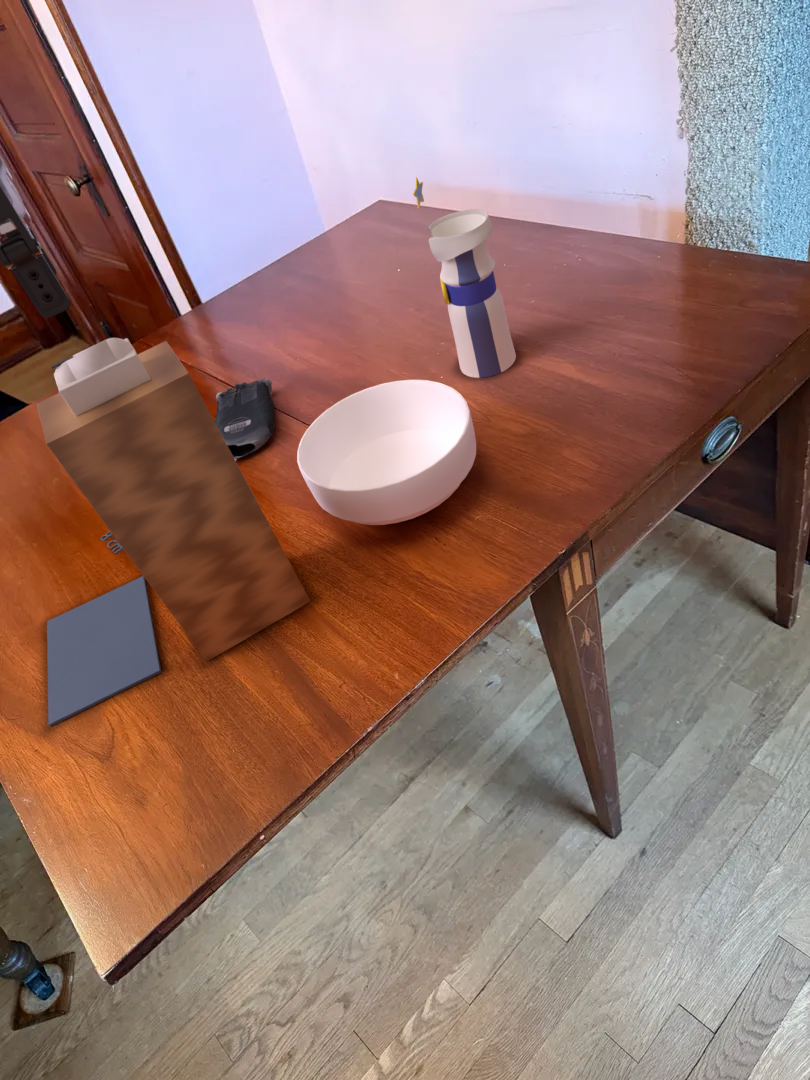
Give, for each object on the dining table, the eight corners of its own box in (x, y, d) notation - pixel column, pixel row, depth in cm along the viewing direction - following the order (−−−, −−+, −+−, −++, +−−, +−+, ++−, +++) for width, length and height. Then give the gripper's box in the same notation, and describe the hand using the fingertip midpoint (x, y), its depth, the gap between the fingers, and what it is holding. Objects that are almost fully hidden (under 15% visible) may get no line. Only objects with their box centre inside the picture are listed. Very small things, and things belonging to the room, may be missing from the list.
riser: (206, 661, 75) (46, 444, 57) (187, 615, 81) (35, 403, 63) (310, 601, 78) (188, 373, 59) (284, 560, 83) (165, 340, 65)
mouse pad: (161, 672, 76) (159, 670, 76) (50, 726, 75) (48, 724, 74) (145, 577, 88) (143, 575, 88) (48, 623, 87) (46, 621, 86)
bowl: (516, 495, 81) (503, 433, 75) (354, 577, 78) (327, 519, 73) (441, 416, 95) (424, 359, 90) (302, 483, 93) (276, 429, 87)
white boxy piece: (75, 417, 59) (48, 378, 56) (69, 398, 62) (43, 360, 59) (152, 379, 60) (129, 339, 58) (142, 362, 63) (119, 323, 60)
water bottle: (459, 386, 99) (411, 197, 83) (455, 354, 105) (409, 172, 89) (521, 371, 98) (484, 176, 81) (513, 339, 104) (477, 152, 87)
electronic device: (219, 421, 112) (210, 467, 100) (209, 387, 109) (197, 430, 97) (280, 409, 113) (278, 454, 100) (271, 375, 110) (268, 416, 97)
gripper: (-156, 63, 49) (-3, 291, 60) (-182, 76, 39) (10, 349, 49) (-46, 21, 50) (85, 251, 61) (-42, 24, 40) (114, 300, 51)
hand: (51, 295), depth 55 cm, fingers open, 8 cm apart
